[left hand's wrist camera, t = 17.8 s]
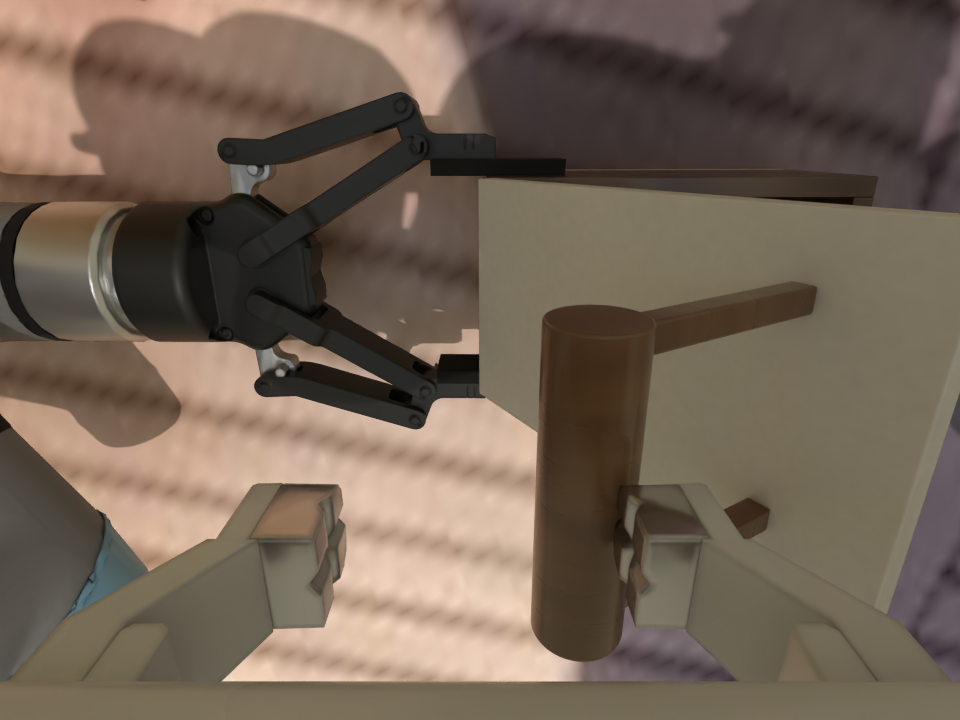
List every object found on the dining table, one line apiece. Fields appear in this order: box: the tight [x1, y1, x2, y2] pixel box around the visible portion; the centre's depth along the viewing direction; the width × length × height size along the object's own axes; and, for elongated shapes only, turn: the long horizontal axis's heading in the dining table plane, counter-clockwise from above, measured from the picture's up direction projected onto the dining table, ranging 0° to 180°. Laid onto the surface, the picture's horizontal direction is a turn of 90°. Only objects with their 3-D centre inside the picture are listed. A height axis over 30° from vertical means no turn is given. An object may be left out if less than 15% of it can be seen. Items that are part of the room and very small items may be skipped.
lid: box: [478, 178, 960, 662], centre depth 17 cm, size 18×10×8 cm
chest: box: [487, 169, 878, 207], centre depth 31 cm, size 17×10×10 cm, turn 90°
